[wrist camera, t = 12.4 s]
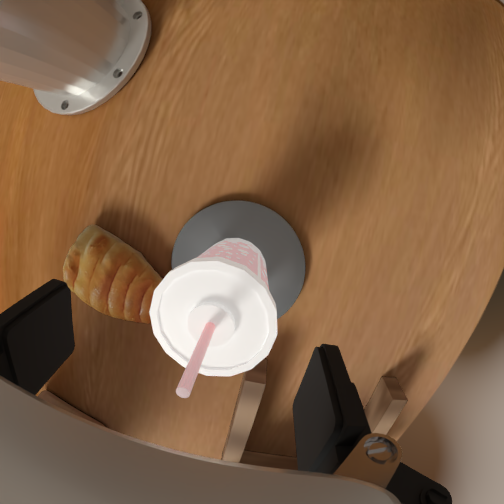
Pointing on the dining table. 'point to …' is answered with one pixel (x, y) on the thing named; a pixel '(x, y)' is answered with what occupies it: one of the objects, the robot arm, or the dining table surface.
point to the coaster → (255, 231)
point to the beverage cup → (216, 312)
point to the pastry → (110, 275)
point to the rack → (252, 387)
